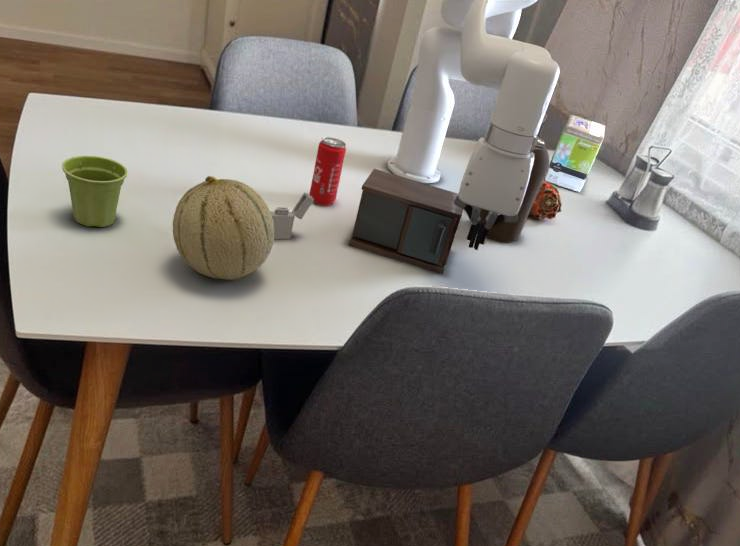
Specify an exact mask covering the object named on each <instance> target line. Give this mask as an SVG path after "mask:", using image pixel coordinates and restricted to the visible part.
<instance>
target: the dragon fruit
mask: <svg viewBox="0 0 740 546" xmlns="http://www.w3.org/2000/svg"><path fill="white" fill-rule="evenodd" d="M562 202H563V201H562V197H561V195H560V192H559V190H558V188H557V185H556V184H553V183H550V182H548V181H545V179H544V180H543V182H542V184H541V187H540V189H539V191H538V193H537V196H536V198H535V200H534V203H533V205H532V207H531V210H530V212H529V214H528V215H533V217H534V218H535V219H538V220H541V221H542V220H544V219H549V220H552V219H555V218H556V215H557V214H558V213H561V212H562V205H563V204H562Z"/></svg>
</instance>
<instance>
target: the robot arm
mask: <svg viewBox="0 0 740 546" xmlns="http://www.w3.org/2000/svg"><path fill="white" fill-rule="evenodd" d="M537 1H538V0H442V2H441V7H440V15H441V18H442V20H443V22H444V23H446V24H447V25H448V26H451V27H447V26H434V27H431V28H429V29H428V30H426V32H425V33H423V36H422V38H421V40H420V45H419V51H418V52H419V53H418V60H417V61H418V62H417V70H416V76H415V81H414V84H413V90H412V94H411V98H410V101H409V106H408V109H407V114H406V117H405V122H404V126H403V130H402V133H401V138H400V142H399V145H398V149H397V153H396V157H392V158H389V160H388V161H387V165H386V166H387V168H388V170H389V171H390V173H392V174H395V175H398V176H401V177H405V178H408V179H411V180H415V181H418V182H421V183H425V184H434V183H438V182H439V181H440V179H441V176H442V174H441V171H440V170H439V169H437V166H438V162H439V159H440V158H441V152H442V149H443V145H444V141H445V138H446V136H447V135H446V134H447V131H448V127H449V125H450V122H451V121H450V120H451V118H452V114H453V111H454V107H455V95H454V92H453V90H452V87H451V85H450V80H454V81H460V82H465V83H469V84H470V85H472V86H477V87H480V88H485V89H491V90H495V91H498V94H497V98H496V101H495V104H494V107H493V110H492V113H491V117H490V120H489V123H488V126H487V129H486V132H485V136H484V137H480V138H479V139H478V140H477V142H476V144H475V145H474V148H473V150H472V152H471V155H470V158H469V160H468V162H467V165H466V167H465V171H464V173H463V176H462V179H461V182H460V186H459V191H458V194H457V196H456V198H455V200H454V205H456V206H457V207H459V208H461V209H462V210H463V211H465V213H466V215H467V217H468V218H469V221H470V223H471V224H470V225H469V226H470V227H469V230H468V233H467V236H466V239H465V241H469V243H468V248H469V249H472V248H473V249H474V250H475V251H479V247H480V245H483V246H484V245H485V241H486V239H487V237H486V236H487V233H488V231H489V229H491V228H492V227H493V226H495V225H497V224H499V223H501V222H508V223H516V222H517V219H518V212H519V210H520V207H521V205H522V202H523V199H524V196H525V193H526V189H527V186H528V183H529V179H530V175H531V171H532V167H533V163H534V153H533V152H532V150H534V149H540V150H542V149H543V146H544V144H546V143H545V142H546V141H545V140H543V141H542V140H541V139H538V136H537V135H538V132H539V129H540V126H541V124H542V121H543V118H544V115H545V113H546V112H547V109H548V107H549V104H550V102H551V99H552V96H553V93H554V91H555V88H556V85H557V81H558V79H559V76H560V72H561V71H560V66H559V64H558V62H557V61H556V60H554V59H552V55H551V53H550V52H549V51H548V49H546V48H544V47H542V46H540V45H537V44H533V43H529V42H524V41H521V40H516V39H514V36H515V33H516V31H517V28H518V26H519V22H520V19H521V15H522V9H526V8H529V7H530V6H532V5H533V4H535V3H536V2H537ZM452 27H453V28H452ZM456 28H457V29H456ZM546 114H547V113H546ZM481 208H482V209H485V210H488V211H490V212H489V214H488V216H487V218H486V219H485V220H484V221H483V223H481V222H480V217H479V216H480V210H481ZM480 223H481V226H480ZM479 228H480V229H479Z"/></svg>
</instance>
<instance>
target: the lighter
mask: <svg viewBox="0 0 740 546" xmlns="http://www.w3.org/2000/svg"><path fill="white" fill-rule="evenodd" d="M313 201H314V199H313V198H312V196H310V193H309V194H308V193H307V192H304V193H303V194H302V196H301V197H300V199H299V200H298V202H297V203H296V204H295V206H294V207H293V209H292V210H291V211H290V209H289V208H288V207H286V206H283V207H279V206H278V207H277V208H275V210H274V211H273V210H272V211H271V210H269V211H270V213H271V216H272V218H273V222H274V227H275V232H274V240H290V239H291V238H292V234H293V228H294V227H293V226H294V222H295V217H296V218H297V219H299V220H302V219H303V217H304V216H305V214H306V213H307V212H308V210H309V209H310V207H311V205H312V204H313Z"/></svg>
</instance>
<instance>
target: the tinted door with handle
mask: <svg viewBox="0 0 740 546" xmlns="http://www.w3.org/2000/svg"><path fill="white" fill-rule="evenodd" d="M455 222H456V218H453V217H449V216H446V215H443V214H440V213H436V212H433V211H430V210H426V209H423V208H420V207H417V206H414V205H410V207H409V211H408V214H407V218H406V222H405V225H404V229H403V232H402V236H401V240H400V243H399V247H398V250H397V252H398V253H401V254H405V255H408V256H411V257H414V258H418V259H421V260H424V261H427V262H431V263H434V264H437V265H440V266H442V262H443V259H444V256H445V253H446V250H447V247H448V244H449V241H450V237H451V234H452V231H453V228H454V225H455Z"/></svg>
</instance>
